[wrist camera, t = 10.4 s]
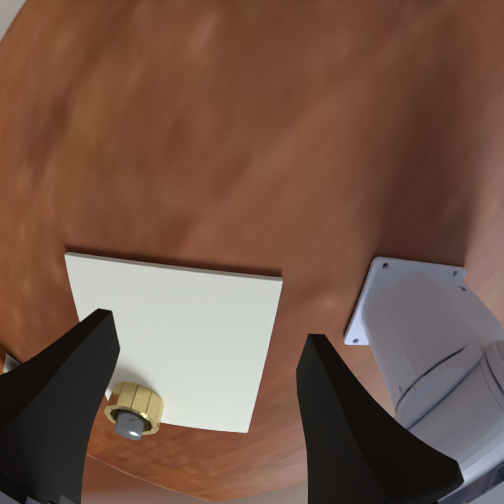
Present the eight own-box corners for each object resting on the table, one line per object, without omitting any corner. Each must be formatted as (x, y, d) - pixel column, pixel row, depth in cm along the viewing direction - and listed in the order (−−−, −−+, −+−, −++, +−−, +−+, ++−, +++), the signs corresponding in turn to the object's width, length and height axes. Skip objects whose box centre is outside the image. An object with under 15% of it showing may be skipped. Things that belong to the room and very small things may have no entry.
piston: (148, 393, 26) (138, 429, 22) (151, 407, 27) (143, 442, 23) (122, 388, 26) (110, 423, 22) (127, 402, 27) (117, 435, 23)
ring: (158, 386, 25) (151, 411, 22) (167, 415, 28) (162, 437, 25) (106, 378, 25) (97, 400, 22) (121, 407, 27) (114, 428, 25)
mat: (282, 277, 20) (282, 281, 19) (247, 429, 29) (247, 432, 29) (67, 251, 19) (64, 254, 19) (113, 408, 28) (112, 411, 28)
